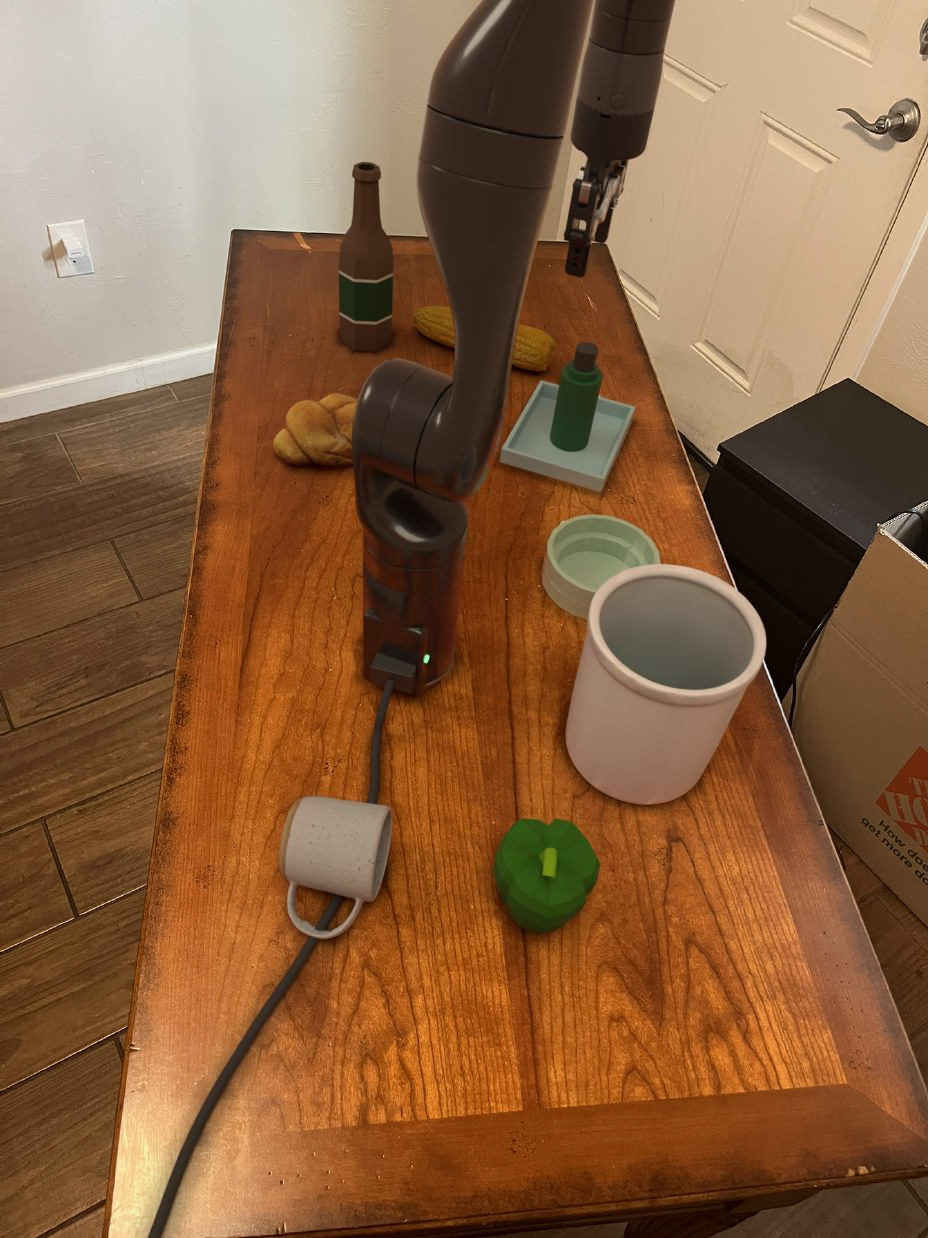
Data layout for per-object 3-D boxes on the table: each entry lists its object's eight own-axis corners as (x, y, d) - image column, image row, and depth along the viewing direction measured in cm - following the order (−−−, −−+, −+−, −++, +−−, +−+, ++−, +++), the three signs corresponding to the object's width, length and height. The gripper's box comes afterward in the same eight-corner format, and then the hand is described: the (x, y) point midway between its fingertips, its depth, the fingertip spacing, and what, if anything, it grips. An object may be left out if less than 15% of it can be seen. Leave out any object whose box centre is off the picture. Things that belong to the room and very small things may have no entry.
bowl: (635, 640, 100) (645, 608, 96) (526, 604, 102) (532, 572, 98) (660, 565, 108) (670, 534, 104) (558, 534, 110) (565, 502, 106)
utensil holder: (533, 702, 93) (560, 580, 80) (663, 667, 98) (710, 546, 84) (597, 829, 84) (640, 716, 71) (738, 785, 89) (803, 670, 76)
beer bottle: (330, 328, 134) (325, 155, 117) (381, 319, 137) (384, 149, 119) (349, 358, 130) (347, 183, 112) (401, 348, 133) (408, 176, 115)
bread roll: (277, 480, 112) (272, 426, 106) (269, 430, 118) (264, 376, 112) (384, 471, 115) (385, 417, 109) (370, 422, 121) (371, 368, 115)
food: (554, 363, 133) (561, 326, 129) (542, 384, 130) (548, 346, 125) (418, 323, 137) (420, 285, 133) (402, 342, 134) (404, 304, 129)
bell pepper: (516, 837, 83) (531, 777, 76) (599, 885, 81) (623, 827, 73) (467, 913, 78) (478, 857, 71) (555, 967, 76) (575, 914, 68)
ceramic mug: (302, 818, 83) (296, 773, 77) (393, 835, 82) (395, 790, 77) (267, 934, 76) (258, 894, 70) (366, 953, 76) (366, 914, 70)
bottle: (582, 456, 119) (602, 364, 109) (544, 445, 120) (561, 352, 110) (592, 434, 122) (613, 342, 112) (556, 423, 123) (573, 331, 113)
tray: (600, 495, 115) (604, 479, 113) (499, 465, 117) (501, 448, 115) (631, 422, 125) (635, 406, 123) (538, 395, 128) (540, 379, 126)
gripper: (598, 64, 95) (571, 222, 107) (557, 110, 86) (532, 277, 98) (671, 80, 93) (635, 238, 105) (637, 129, 84) (601, 295, 96)
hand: (586, 257), depth 102 cm, fingers open, 8 cm apart
